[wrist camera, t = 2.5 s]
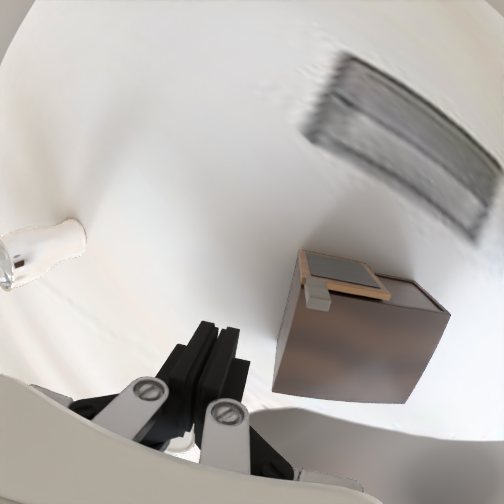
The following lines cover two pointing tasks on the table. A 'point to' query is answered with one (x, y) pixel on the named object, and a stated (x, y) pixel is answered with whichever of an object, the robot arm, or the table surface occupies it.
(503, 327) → the table surface
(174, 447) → the spotlight
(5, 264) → the beer glass
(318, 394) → the cabinet
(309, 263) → the sliding door
